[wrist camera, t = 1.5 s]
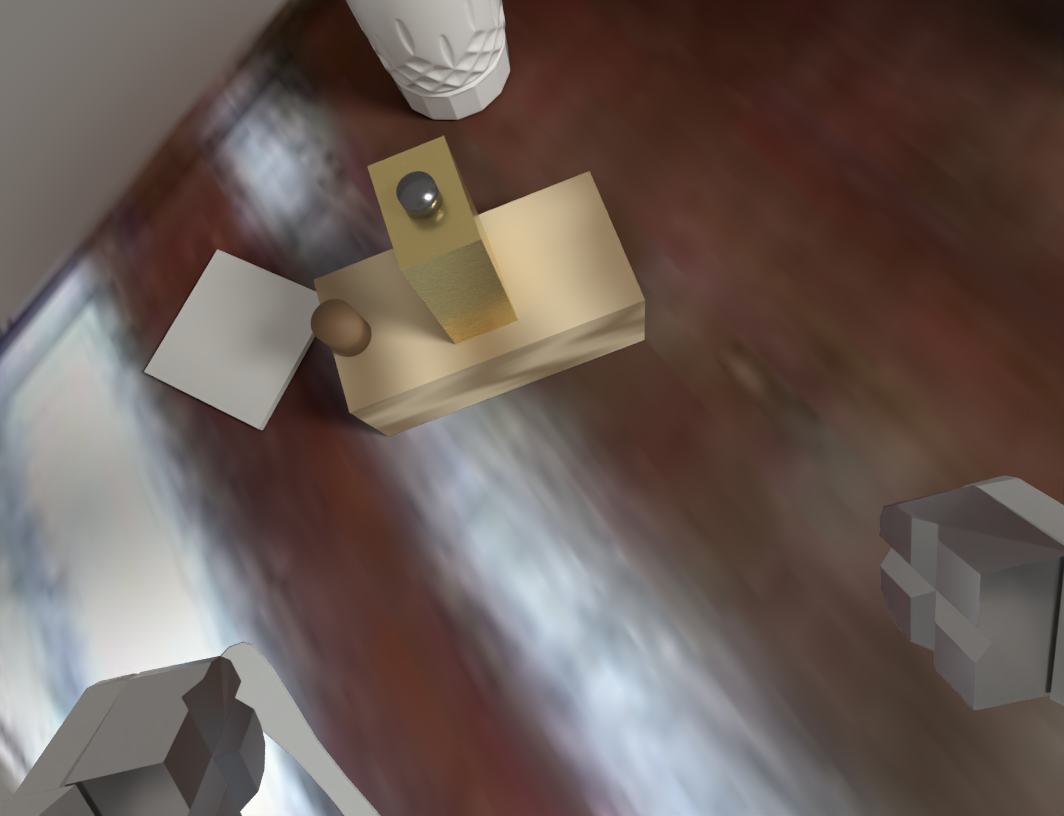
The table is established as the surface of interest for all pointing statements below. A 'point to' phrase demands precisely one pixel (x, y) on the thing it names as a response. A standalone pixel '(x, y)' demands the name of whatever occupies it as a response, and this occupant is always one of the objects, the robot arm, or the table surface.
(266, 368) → the mat
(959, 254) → the table surface
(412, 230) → the brass knob block
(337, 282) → the body
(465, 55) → the white cup
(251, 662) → the butter knife
